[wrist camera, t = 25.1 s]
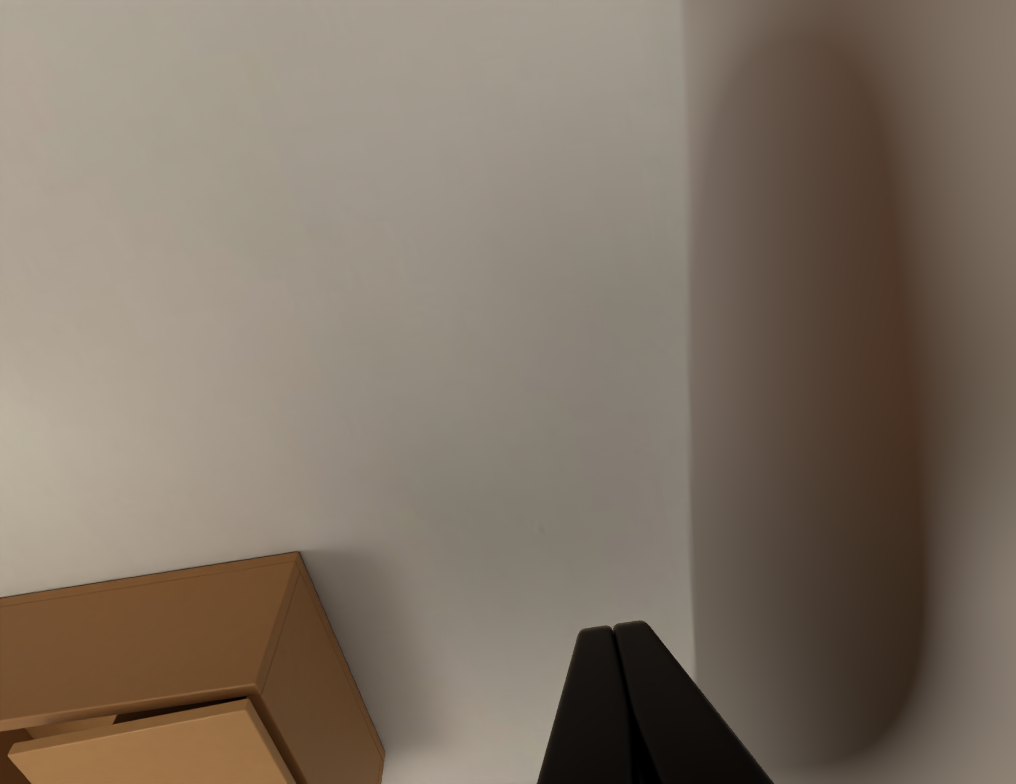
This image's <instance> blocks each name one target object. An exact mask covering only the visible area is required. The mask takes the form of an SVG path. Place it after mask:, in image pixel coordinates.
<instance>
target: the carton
mask: <svg viewBox="0 0 1016 784" xmlns="http://www.w3.org/2000/svg"><path fill="white" fill-rule="evenodd" d="M243 696H247V699H250V701H251V703H252V705H253V707H254V708H255V710H256V712H257V714H258V716H259V717H260V719H261V721H262V723H263V725H264V726H265V728H266V730H267V732H268V734H269V735H270V737H271V739H272V741H273V743H274V744H275V746H276V748H277V750H278V752H279V753H280V755H281V757H282V759H283V761H284V762H285V764H286V766H287V768H288V770H289V771H290V773H291V775H292V777H293V779H294V780H295V782H296V784H381V782H382V774H383V766H384V758H385V752H384V749H383V747H382V745H381V742H380V740H379V738H378V735H377V733H376V731H375V728H374V726H373V724H372V722H371V719H370V717H369V715H368V712H367V710H366V708H365V705H364V703H363V701H362V698H361V696H360V694H359V691H358V689H357V687H356V684H355V682H354V680H353V677H352V675H351V673H350V671H349V668H348V666H347V664H346V661H345V659H344V657H343V654H342V652H341V650H340V647H339V645H338V643H337V640H336V638H335V636H334V633H333V631H332V629H331V626H330V624H329V622H328V620H327V617H326V615H325V613H324V610H323V608H322V606H321V603H320V601H319V599H318V596H317V594H316V592H315V589H314V587H313V585H312V582H311V580H310V578H309V575H308V573H307V571H306V568H305V566H304V564H303V562H302V559H301V557H300V555H299V553H298V552H294V553H288V554H281V555H275V556H268V557H262V558H256V559H249V560H243V561H236V562H230V563H224V564H217V565H211V566H204V567H198V568H192V569H185V570H179V571H172V572H166V573H159V574H153V575H147V576H140V577H134V578H127V579H121V580H115V581H108V582H102V583H95V584H89V585H83V586H76V587H70V588H63V589H57V590H51V591H44V592H38V593H31V594H25V595H18V596H12V597H6V598H0V784H32V783H31V782H30V781H29V780H28V779H27V778H26V777H25V775H24V774H23V773H22V772H21V771H20V770H19V769H18V767H17V766H16V765H15V764H14V763H13V762H12V761H11V759H10V758H9V757H8V753H9V751H10V750H11V748H12V746H13V744H15V743H19V742H24V741H29V740H34V739H39V738H45V737H50V736H55V735H60V734H66V733H71V732H76V731H81V730H86V729H92V728H97V727H102V726H107V725H112V723H113V721H114V720H115V718H116V716H117V715H118V714H125V713H132V712H139V711H146V710H153V709H160V708H167V707H174V706H181V705H188V704H195V703H202V702H209V701H215V700H222V699H229V698H236V697H243Z"/></svg>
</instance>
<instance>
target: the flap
mask: <svg viewBox="0 0 1016 784" xmlns="http://www.w3.org/2000/svg"><path fill="white" fill-rule="evenodd" d="M8 757H9V758H10V759H11V761H12V762H13V763H14V764H15V765H16V766H17V767H18V769H19V770H20V771H21V772H22V773H23V774H24V775H25V777H26V778H27V779H28V780H29V781H30V782H31V783H32V784H296V782H295V780H294V779H293V777H292V775H291V773H290V771H289V770H288V768H287V766H286V764H285V762H284V761H283V759H282V757H281V755H280V753H279V752H278V750H277V748H276V746H275V744H274V743H273V741H272V739H271V737H270V735H269V734H268V732H267V730H266V728H265V726H264V725H263V723H262V721H261V719H260V717H259V716H258V714H257V712H256V710H255V708H254V707H253V705H252V703H251V701H250V699H243V700H238V701H233V702H227V703H222V704H217V705H212V706H206V707H201V708H196V709H191V710H186V711H180V712H175V713H170V714H165V715H160V716H154V717H149V718H144V719H139V720H133V721H128V722H123V723H118V724H113V725H107V726H102V727H97V728H92V729H86V730H81V731H76V732H71V733H66V734H60V735H55V736H50V737H45V738H39V739H34V740H29V741H24V742H19V743H15V744H13V746H12V748H11V750H10V751H9V753H8Z"/></svg>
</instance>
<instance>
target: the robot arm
mask: <svg viewBox="0 0 1016 784" xmlns="http://www.w3.org/2000/svg"><path fill="white" fill-rule="evenodd" d="M537 784H774V783H773V782H772V780H771V779H770V778H769V776H768V775H767V774H766V772H765V771H764V770H763V769H762V767H761V766H760V765H759V764H758V762H757V761H756V760H755V759H754V757H753V756H752V755H751V754H750V752H749V751H748V750H747V749H746V747H745V746H744V745H743V743H742V742H741V741H740V740H739V739H738V737H737V736H736V735H735V733H734V732H733V731H732V730H731V728H730V727H729V726H728V725H727V723H726V722H725V721H724V720H723V718H722V717H721V716H720V714H719V713H718V712H717V711H716V709H715V708H714V707H713V706H712V704H711V703H710V702H709V701H708V699H707V698H706V697H705V696H704V694H703V693H702V692H701V690H700V689H699V688H698V687H697V685H696V684H695V683H694V682H693V680H692V679H691V678H690V677H689V675H688V674H687V673H686V672H685V670H684V669H683V668H682V666H681V665H680V664H679V663H678V661H677V660H676V659H675V658H674V656H673V655H672V654H671V653H670V651H669V650H668V649H667V648H666V646H665V645H664V644H663V643H662V641H661V640H660V639H659V637H658V636H657V635H656V634H655V632H654V631H653V630H652V629H651V627H650V626H649V625H648V624H647V623H646V622H644V621H640V620H639V621H632V622H625V623H618V624H616V625H615V626H614V628H613V630H612V628H611V627H610V626H606V625H605V626H598V627H591V628H585V629H582V630H581V631H580V632H579V634H578V637H577V640H576V644H575V647H574V651H573V655H572V658H571V662H570V666H569V669H568V673H567V676H566V680H565V684H564V687H563V691H562V695H561V698H560V702H559V705H558V709H557V713H556V716H555V720H554V724H553V727H552V731H551V734H550V738H549V742H548V745H547V749H546V753H545V756H544V760H543V763H542V767H541V771H540V774H539V778H538V782H537Z"/></svg>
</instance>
